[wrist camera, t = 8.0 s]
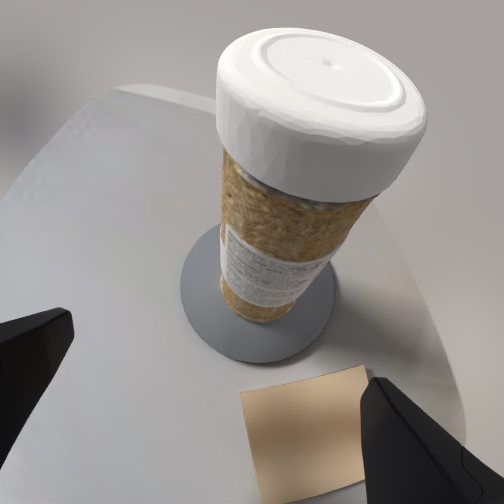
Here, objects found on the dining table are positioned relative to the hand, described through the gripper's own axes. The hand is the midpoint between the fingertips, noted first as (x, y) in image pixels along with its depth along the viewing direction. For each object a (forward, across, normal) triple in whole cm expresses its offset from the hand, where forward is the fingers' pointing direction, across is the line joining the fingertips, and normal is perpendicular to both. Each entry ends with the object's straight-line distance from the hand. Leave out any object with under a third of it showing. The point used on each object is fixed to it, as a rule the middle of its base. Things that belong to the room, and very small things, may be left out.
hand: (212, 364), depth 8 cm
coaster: (+10, -1, +2) cm, 10 cm away
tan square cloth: (+4, -6, +8) cm, 11 cm away
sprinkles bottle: (+10, -1, +2) cm, 10 cm away
